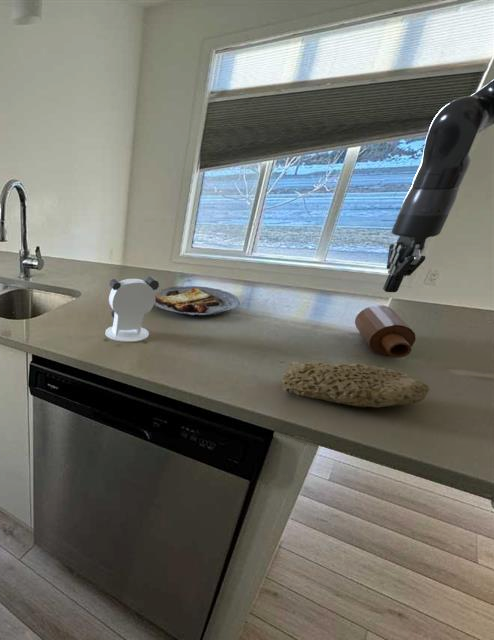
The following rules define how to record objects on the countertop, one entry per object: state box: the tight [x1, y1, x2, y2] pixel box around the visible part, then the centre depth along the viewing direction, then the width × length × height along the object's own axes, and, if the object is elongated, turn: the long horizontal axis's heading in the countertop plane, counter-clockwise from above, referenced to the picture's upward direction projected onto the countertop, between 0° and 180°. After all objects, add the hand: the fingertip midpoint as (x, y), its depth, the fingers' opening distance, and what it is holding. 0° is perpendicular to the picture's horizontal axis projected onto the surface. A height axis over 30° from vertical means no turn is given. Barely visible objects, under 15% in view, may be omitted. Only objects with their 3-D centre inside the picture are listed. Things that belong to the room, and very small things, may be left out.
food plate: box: [154, 285, 241, 317], centre depth 123 cm, size 25×23×4 cm
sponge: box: [281, 361, 430, 408], centre depth 75 cm, size 13×8×20 cm
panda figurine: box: [104, 276, 160, 343], centre depth 107 cm, size 12×11×15 cm
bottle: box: [354, 304, 416, 359], centre depth 91 cm, size 7×7×18 cm
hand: (389, 291), depth 93 cm, fingers closed
